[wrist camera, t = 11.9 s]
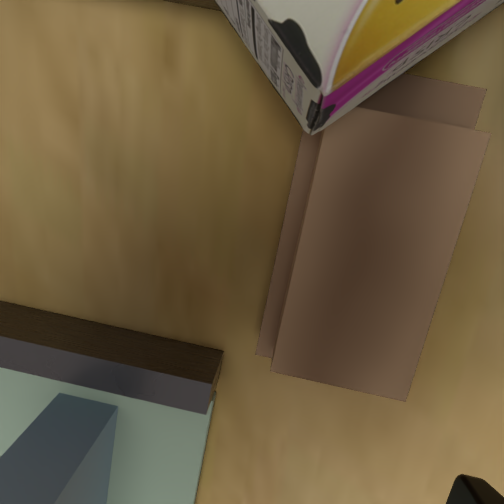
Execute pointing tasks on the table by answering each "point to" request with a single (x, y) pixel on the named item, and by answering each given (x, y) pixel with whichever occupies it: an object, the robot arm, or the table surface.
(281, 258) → the offcut pile
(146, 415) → the mat
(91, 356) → the rack
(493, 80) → the table surface
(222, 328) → the table surface
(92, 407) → the grey panel
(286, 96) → the candy bar box
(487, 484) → the robot arm
